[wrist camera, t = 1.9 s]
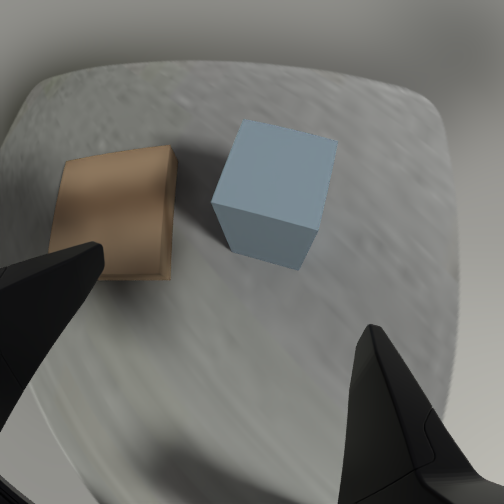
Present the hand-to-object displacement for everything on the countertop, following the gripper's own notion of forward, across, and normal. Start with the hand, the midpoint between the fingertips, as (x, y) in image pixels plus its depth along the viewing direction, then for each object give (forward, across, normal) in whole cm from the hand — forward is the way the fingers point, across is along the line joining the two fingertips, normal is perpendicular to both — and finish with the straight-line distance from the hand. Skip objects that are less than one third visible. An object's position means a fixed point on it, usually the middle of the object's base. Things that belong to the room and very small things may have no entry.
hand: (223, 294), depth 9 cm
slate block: (+14, 0, +4) cm, 14 cm away
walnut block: (+12, +12, +6) cm, 18 cm away
